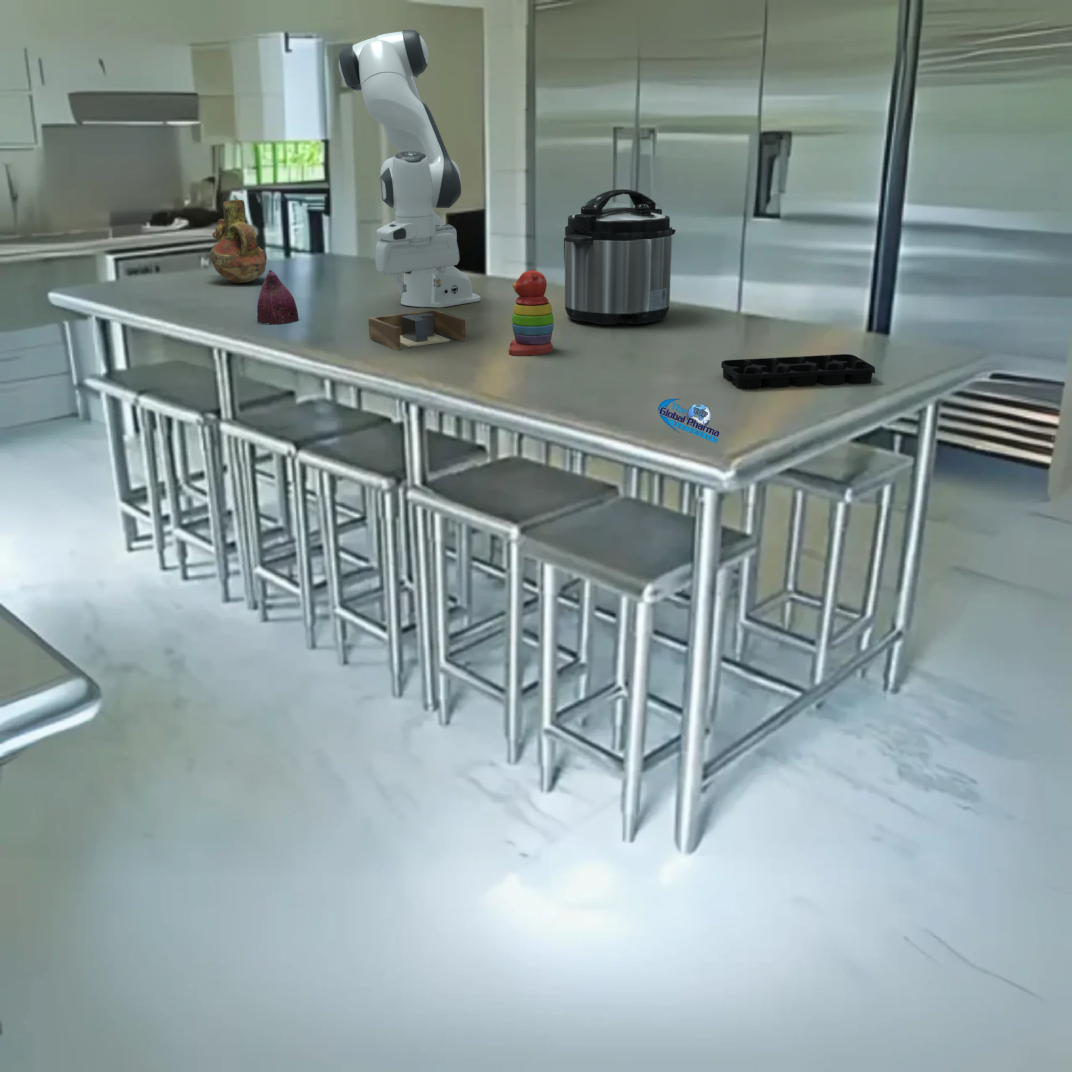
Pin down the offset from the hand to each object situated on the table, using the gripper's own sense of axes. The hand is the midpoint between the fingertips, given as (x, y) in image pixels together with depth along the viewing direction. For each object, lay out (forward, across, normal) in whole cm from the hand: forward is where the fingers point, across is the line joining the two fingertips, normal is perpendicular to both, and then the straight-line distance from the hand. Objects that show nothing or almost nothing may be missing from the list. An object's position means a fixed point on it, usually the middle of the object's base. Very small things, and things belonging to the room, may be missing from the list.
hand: (420, 289), depth 249 cm
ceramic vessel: (+13, +5, -113) cm, 114 cm away
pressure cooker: (+14, -53, +5) cm, 55 cm away
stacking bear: (+12, -15, +24) cm, 31 cm away
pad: (+12, +1, -2) cm, 12 cm away
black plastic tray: (+13, -43, +78) cm, 90 cm away
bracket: (+12, 0, -1) cm, 12 cm away
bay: (+12, +1, -2) cm, 12 cm away
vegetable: (+12, +19, -45) cm, 50 cm away
